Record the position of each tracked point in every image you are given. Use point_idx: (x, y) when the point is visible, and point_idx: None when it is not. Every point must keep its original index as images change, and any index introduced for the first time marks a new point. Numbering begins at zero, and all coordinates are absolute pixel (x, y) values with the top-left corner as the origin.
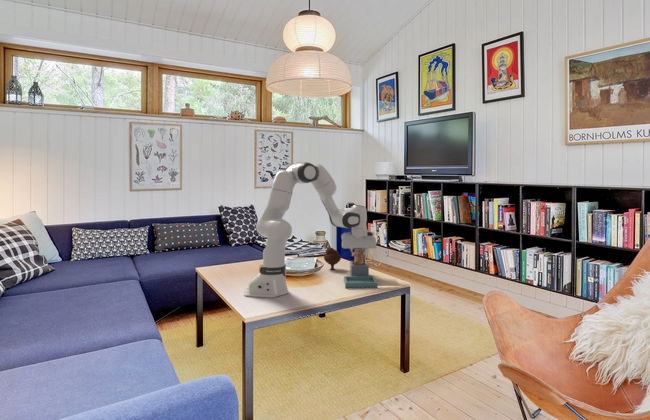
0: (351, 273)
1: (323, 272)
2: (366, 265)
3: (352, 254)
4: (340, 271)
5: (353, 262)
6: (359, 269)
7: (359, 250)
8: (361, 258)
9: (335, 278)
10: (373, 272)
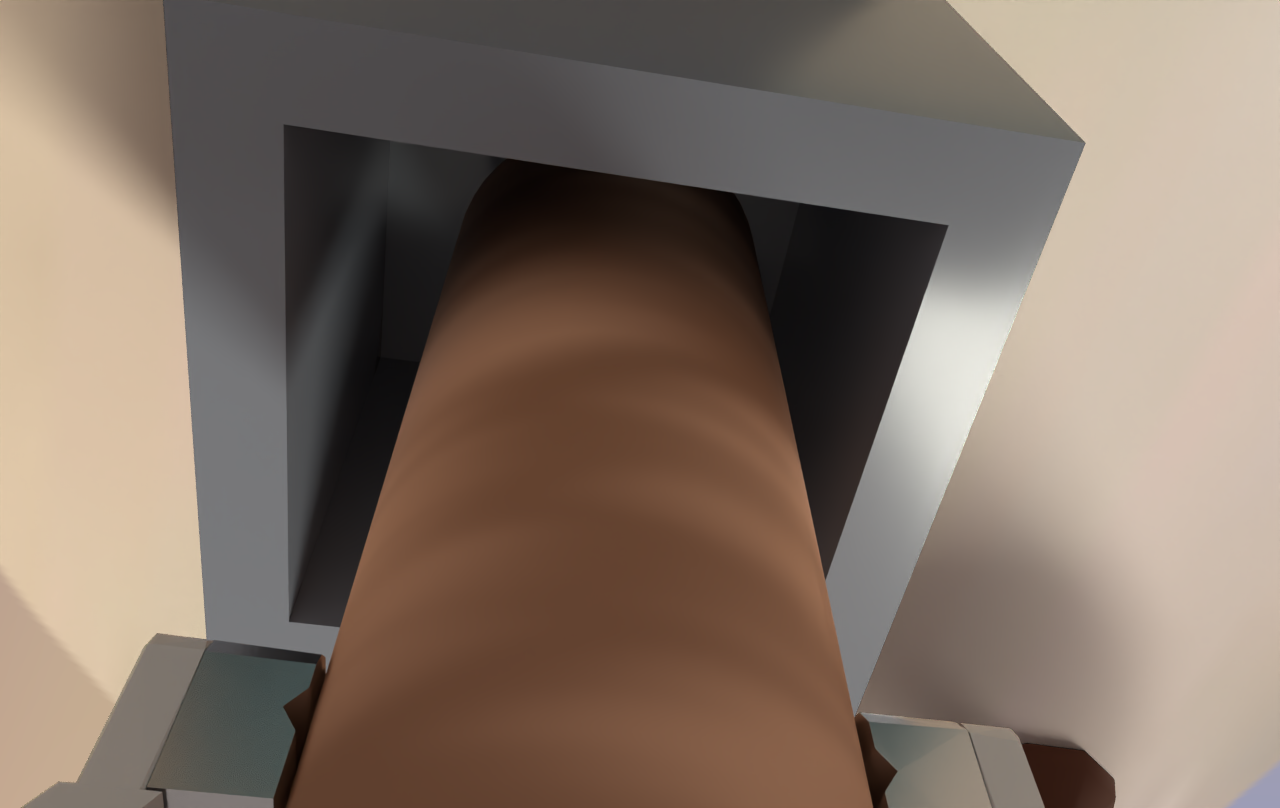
0: (970, 31)
1: (1250, 753)
2: (286, 26)
3: (1027, 796)
4: None
5: None
6: (664, 21)
7: None
8: (477, 465)
9: (1273, 258)
10: (106, 597)
